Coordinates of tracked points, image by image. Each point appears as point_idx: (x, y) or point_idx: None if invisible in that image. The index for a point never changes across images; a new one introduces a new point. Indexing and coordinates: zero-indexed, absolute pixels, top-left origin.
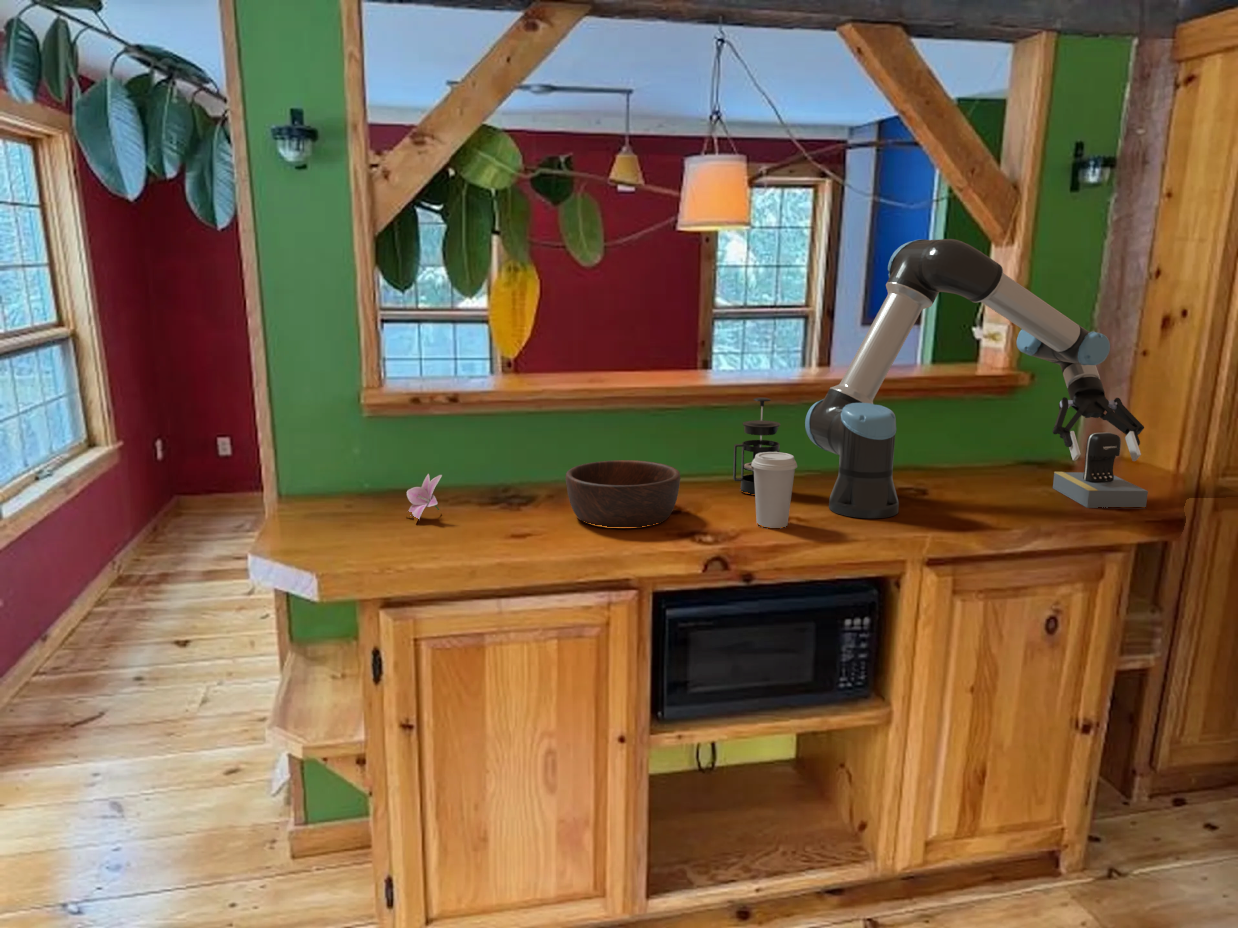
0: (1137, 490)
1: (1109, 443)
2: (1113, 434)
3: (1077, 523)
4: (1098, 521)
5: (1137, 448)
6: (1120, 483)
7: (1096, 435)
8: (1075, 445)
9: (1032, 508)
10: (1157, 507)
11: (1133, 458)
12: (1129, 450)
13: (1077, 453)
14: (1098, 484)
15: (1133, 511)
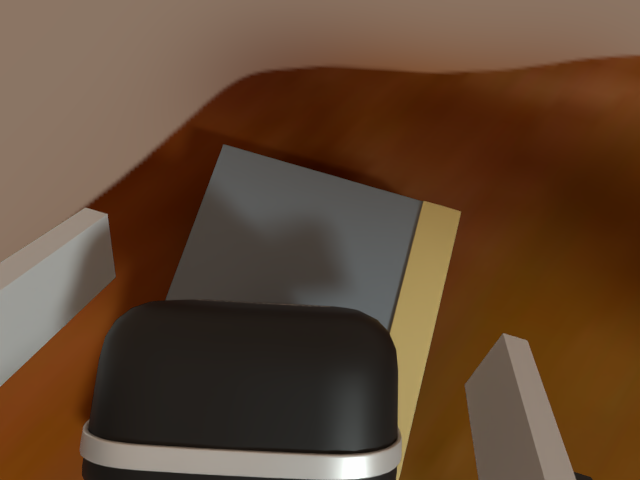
0: (257, 163)
1: (267, 305)
2: (163, 354)
3: (588, 90)
4: (509, 90)
5: (53, 239)
6: (226, 283)
7: (369, 399)
8: (548, 412)
9: (634, 275)
10: (189, 170)
11: (110, 265)
12: (54, 330)
13: (528, 344)
14: (338, 295)
15: (311, 152)
